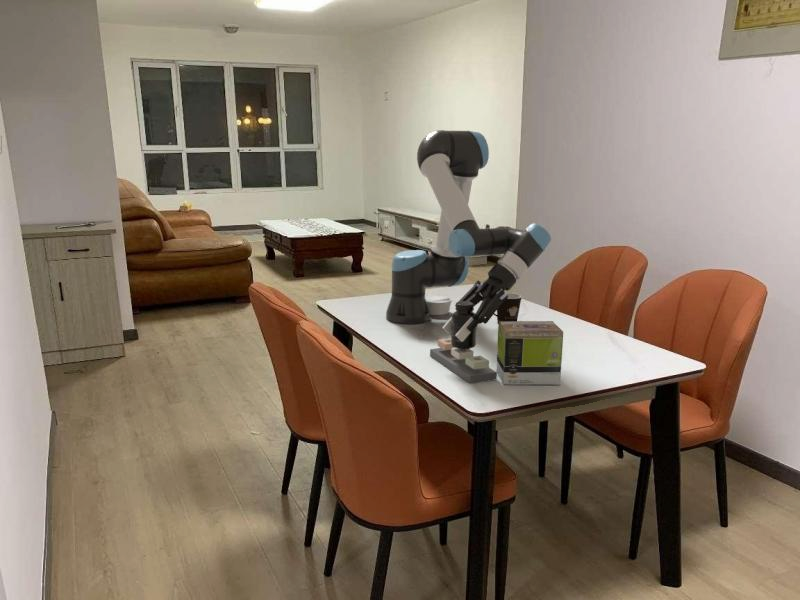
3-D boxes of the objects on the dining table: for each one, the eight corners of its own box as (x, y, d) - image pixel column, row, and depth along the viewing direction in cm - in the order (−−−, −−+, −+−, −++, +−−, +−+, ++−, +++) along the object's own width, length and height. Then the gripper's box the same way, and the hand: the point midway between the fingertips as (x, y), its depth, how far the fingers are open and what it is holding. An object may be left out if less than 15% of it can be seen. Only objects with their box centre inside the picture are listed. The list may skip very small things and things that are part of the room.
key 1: (437, 345, 182) (437, 339, 182) (451, 344, 184) (451, 337, 184) (445, 350, 178) (445, 344, 178) (459, 348, 180) (459, 342, 180)
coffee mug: (518, 321, 221) (520, 293, 219) (520, 328, 213) (522, 299, 211) (485, 319, 222) (486, 291, 220) (485, 326, 214) (487, 297, 212)
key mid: (450, 354, 175) (451, 347, 175) (465, 352, 177) (465, 346, 176) (458, 359, 171) (459, 352, 171) (473, 357, 173) (473, 351, 173)
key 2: (465, 363, 168) (465, 356, 168) (479, 361, 170) (480, 355, 169) (473, 369, 164) (474, 362, 164) (488, 367, 166) (489, 360, 165)
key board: (429, 355, 183) (430, 349, 183) (454, 352, 187) (454, 346, 186) (469, 383, 163) (470, 376, 163) (496, 379, 166) (496, 372, 166)
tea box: (549, 372, 173) (554, 320, 169) (560, 386, 163) (565, 331, 159) (495, 371, 172) (498, 319, 168) (502, 385, 162) (505, 330, 159)
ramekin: (446, 318, 224) (447, 303, 222) (416, 314, 227) (417, 300, 226) (454, 310, 234) (454, 296, 233) (425, 307, 237) (425, 293, 236)
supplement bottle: (457, 340, 178) (459, 298, 175) (479, 344, 174) (482, 302, 172) (446, 346, 172) (448, 303, 169) (469, 351, 169) (471, 307, 166)
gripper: (535, 288, 167) (478, 354, 164) (495, 273, 184) (443, 333, 181) (519, 269, 163) (461, 336, 161) (480, 256, 181) (427, 316, 178)
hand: (452, 334), depth 171 cm, fingers closed on supplement bottle, 7 cm apart
